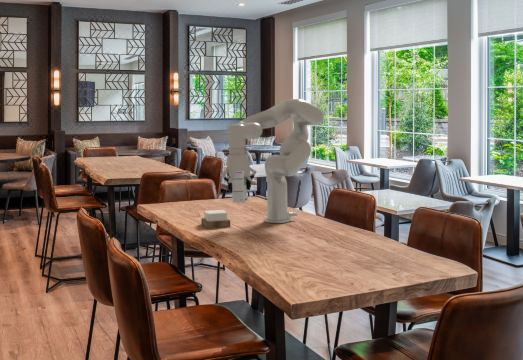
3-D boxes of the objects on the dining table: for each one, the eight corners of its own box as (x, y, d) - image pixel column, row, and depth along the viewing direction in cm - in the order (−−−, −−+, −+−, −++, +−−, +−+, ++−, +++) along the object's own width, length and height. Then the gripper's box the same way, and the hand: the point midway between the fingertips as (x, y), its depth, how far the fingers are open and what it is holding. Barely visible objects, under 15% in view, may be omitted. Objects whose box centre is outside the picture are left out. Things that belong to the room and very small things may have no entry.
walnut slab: (224, 223, 298) (224, 216, 298) (230, 228, 288) (230, 220, 287) (201, 225, 295) (201, 218, 294) (206, 229, 284) (206, 222, 284)
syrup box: (245, 202, 280) (243, 170, 278) (232, 202, 282) (230, 170, 279) (247, 200, 286) (246, 168, 284) (235, 200, 287) (233, 168, 285)
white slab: (223, 217, 296) (223, 209, 296) (227, 220, 288) (226, 212, 287) (204, 218, 294) (204, 210, 294) (207, 221, 285) (207, 213, 285)
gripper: (253, 149, 287) (255, 187, 289) (216, 152, 281) (218, 191, 284) (258, 150, 280) (260, 189, 282) (221, 153, 274) (223, 193, 277)
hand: (239, 190), depth 283 cm, fingers closed on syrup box, 7 cm apart
